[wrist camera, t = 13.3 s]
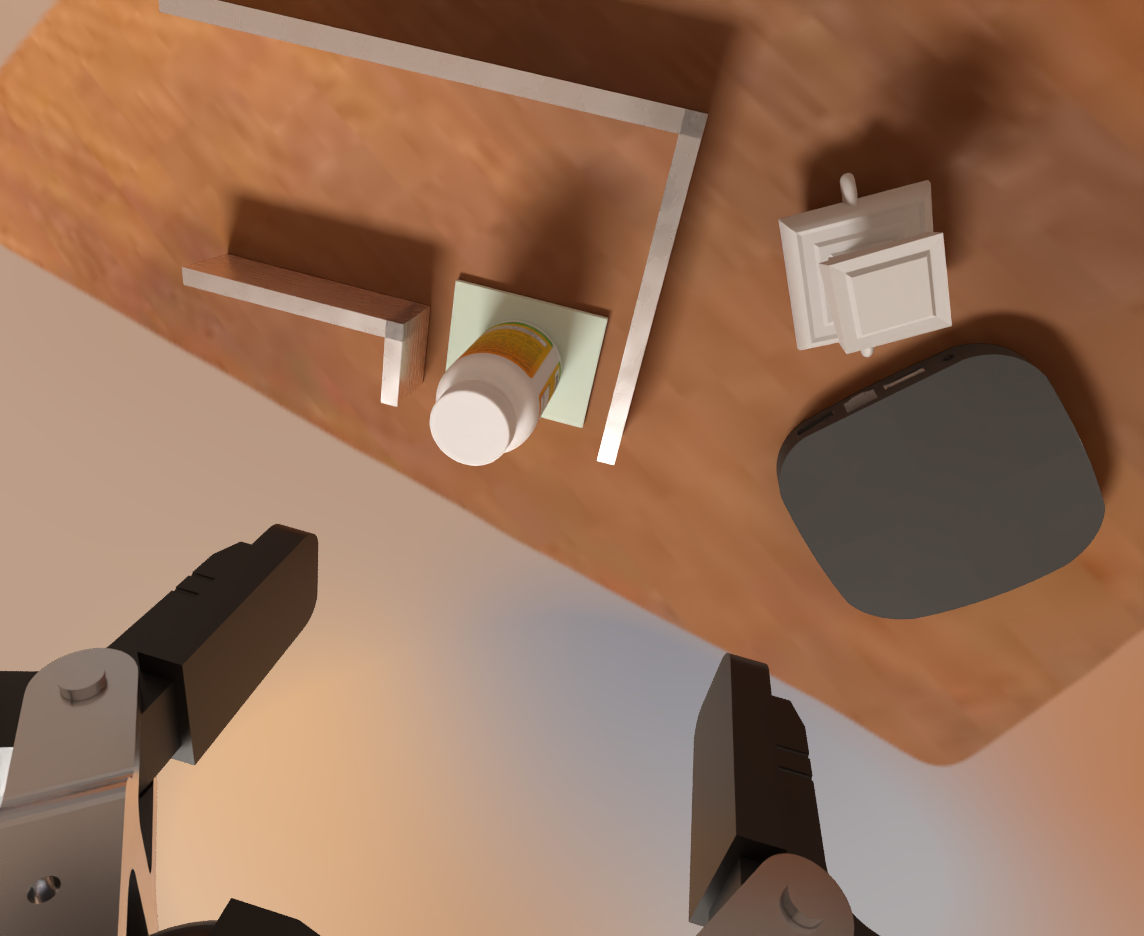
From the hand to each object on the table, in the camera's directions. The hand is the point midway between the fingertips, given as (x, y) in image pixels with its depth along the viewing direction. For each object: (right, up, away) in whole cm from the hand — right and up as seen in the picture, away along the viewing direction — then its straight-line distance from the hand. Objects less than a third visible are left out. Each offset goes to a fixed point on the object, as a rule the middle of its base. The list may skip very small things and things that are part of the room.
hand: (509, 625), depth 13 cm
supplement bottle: (-2, +9, +28) cm, 29 cm away
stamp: (+16, +14, +22) cm, 30 cm away
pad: (-2, +10, +28) cm, 29 cm away
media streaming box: (+22, +2, +27) cm, 35 cm away
